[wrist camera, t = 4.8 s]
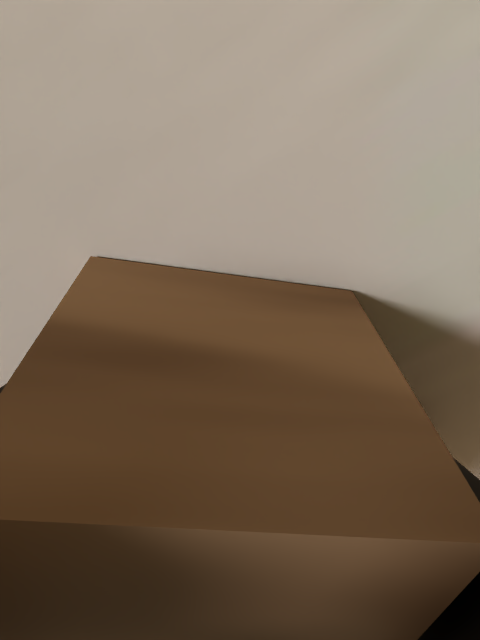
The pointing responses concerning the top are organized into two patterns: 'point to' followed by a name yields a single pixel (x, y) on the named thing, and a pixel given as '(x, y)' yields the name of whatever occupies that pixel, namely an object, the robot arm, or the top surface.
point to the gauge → (222, 469)
